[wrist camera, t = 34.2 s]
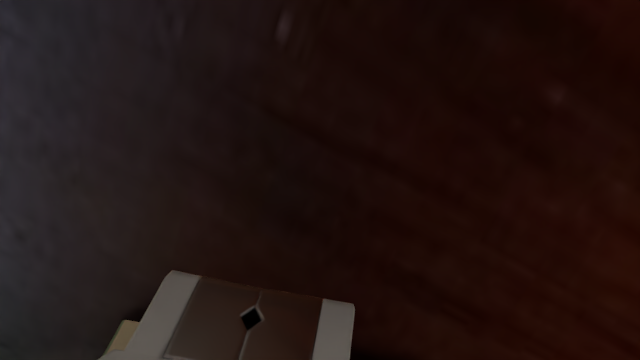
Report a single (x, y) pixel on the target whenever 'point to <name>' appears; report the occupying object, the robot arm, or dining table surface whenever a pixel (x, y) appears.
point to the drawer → (123, 335)
